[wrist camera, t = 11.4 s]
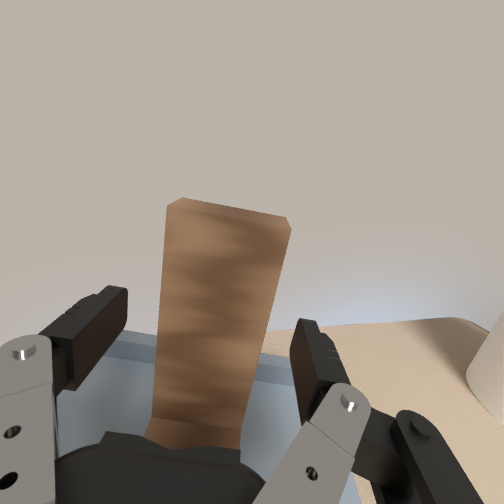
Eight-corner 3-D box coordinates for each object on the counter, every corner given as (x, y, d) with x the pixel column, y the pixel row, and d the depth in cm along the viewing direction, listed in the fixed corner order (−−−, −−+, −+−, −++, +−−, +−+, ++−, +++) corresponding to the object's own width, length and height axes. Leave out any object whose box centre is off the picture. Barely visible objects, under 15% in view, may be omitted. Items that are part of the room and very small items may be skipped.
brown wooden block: (137, 463, 14) (151, 214, 9) (171, 376, 20) (190, 192, 15) (235, 476, 14) (297, 241, 10) (241, 387, 20) (282, 210, 15)
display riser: (-13, 552, 14) (-43, 461, 11) (94, 394, 24) (92, 324, 21) (337, 595, 15) (385, 521, 12) (306, 427, 24) (330, 364, 22)
